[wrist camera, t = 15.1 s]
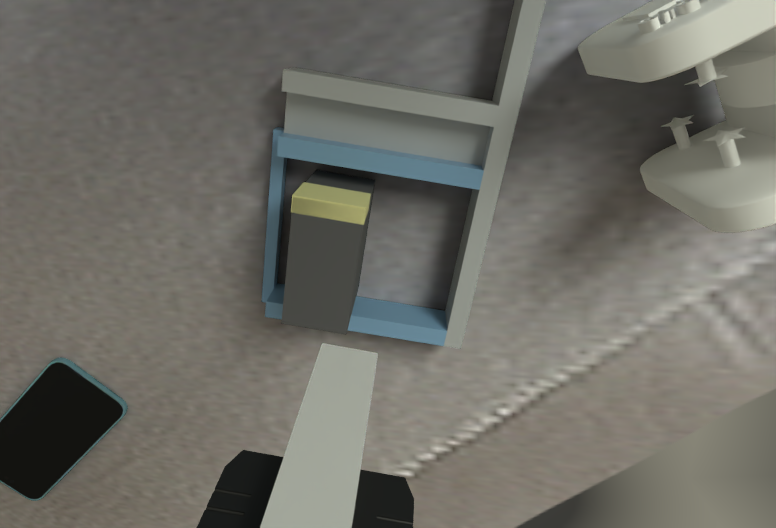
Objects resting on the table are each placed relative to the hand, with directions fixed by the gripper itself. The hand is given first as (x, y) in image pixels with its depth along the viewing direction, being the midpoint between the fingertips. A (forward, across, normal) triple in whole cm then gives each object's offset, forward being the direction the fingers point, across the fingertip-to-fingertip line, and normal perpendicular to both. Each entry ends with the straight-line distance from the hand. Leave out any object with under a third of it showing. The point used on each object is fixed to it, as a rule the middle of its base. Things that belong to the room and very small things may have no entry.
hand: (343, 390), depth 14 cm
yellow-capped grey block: (+23, -3, -4) cm, 23 cm away
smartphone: (+23, -25, -27) cm, 43 cm away
